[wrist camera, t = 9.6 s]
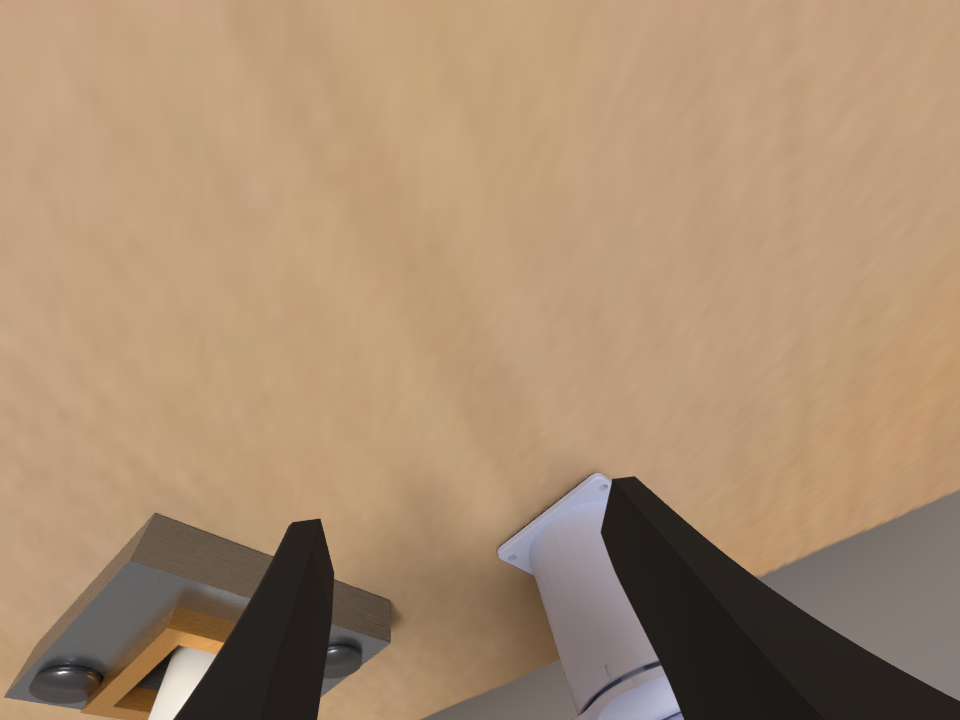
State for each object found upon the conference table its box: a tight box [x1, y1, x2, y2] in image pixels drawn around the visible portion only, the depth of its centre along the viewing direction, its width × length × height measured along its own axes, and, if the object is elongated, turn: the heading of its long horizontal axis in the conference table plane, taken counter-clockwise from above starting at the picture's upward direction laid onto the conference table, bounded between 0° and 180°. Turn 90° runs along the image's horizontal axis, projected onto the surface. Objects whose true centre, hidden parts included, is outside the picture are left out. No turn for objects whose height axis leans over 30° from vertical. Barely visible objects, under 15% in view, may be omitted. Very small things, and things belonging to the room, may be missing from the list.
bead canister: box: [148, 645, 217, 720], centre depth 23 cm, size 4×4×7 cm
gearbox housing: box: [4, 513, 391, 720], centre depth 24 cm, size 14×12×4 cm
